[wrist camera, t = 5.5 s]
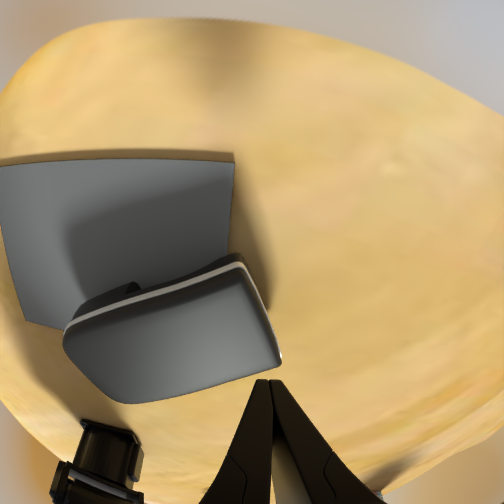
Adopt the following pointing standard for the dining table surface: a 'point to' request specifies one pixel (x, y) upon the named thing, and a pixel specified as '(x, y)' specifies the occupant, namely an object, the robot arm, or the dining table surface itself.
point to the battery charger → (174, 334)
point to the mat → (108, 227)
